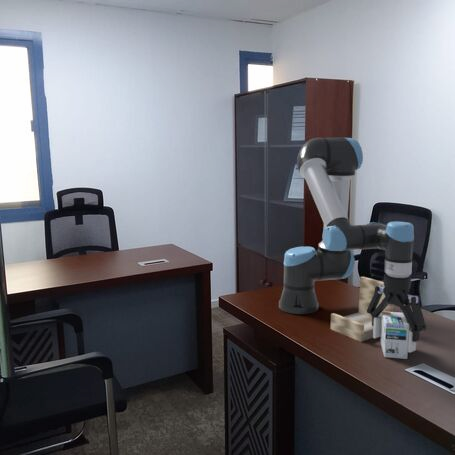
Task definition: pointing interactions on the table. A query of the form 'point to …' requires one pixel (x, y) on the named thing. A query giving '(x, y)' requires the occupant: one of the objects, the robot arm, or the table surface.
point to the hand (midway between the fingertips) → (393, 343)
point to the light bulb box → (394, 335)
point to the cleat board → (360, 313)
